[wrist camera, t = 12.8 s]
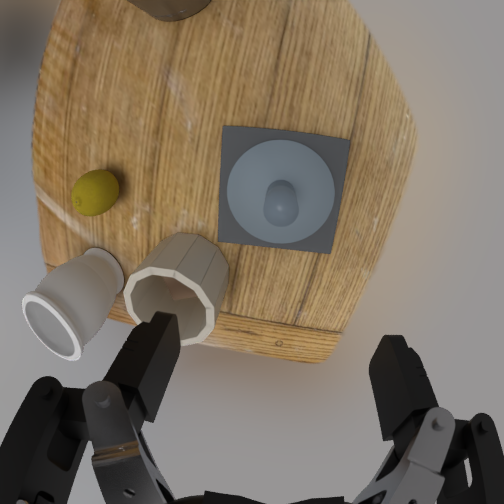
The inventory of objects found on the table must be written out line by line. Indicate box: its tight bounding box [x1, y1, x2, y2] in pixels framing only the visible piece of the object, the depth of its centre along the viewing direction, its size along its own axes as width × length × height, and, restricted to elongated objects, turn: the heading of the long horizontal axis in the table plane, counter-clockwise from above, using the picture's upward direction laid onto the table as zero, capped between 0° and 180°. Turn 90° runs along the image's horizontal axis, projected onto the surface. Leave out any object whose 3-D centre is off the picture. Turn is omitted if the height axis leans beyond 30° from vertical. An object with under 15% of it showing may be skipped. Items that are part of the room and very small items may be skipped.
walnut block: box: [162, 276, 198, 300], centre depth 35 cm, size 4×4×4 cm
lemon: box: [71, 169, 119, 216], centre depth 29 cm, size 6×6×8 cm
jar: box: [22, 248, 124, 361], centre depth 32 cm, size 11×10×15 cm
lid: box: [227, 139, 335, 244], centre depth 27 cm, size 12×12×7 cm
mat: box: [218, 126, 350, 254], centre depth 31 cm, size 14×14×1 cm
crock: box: [123, 233, 229, 346], centre depth 33 cm, size 11×11×9 cm
